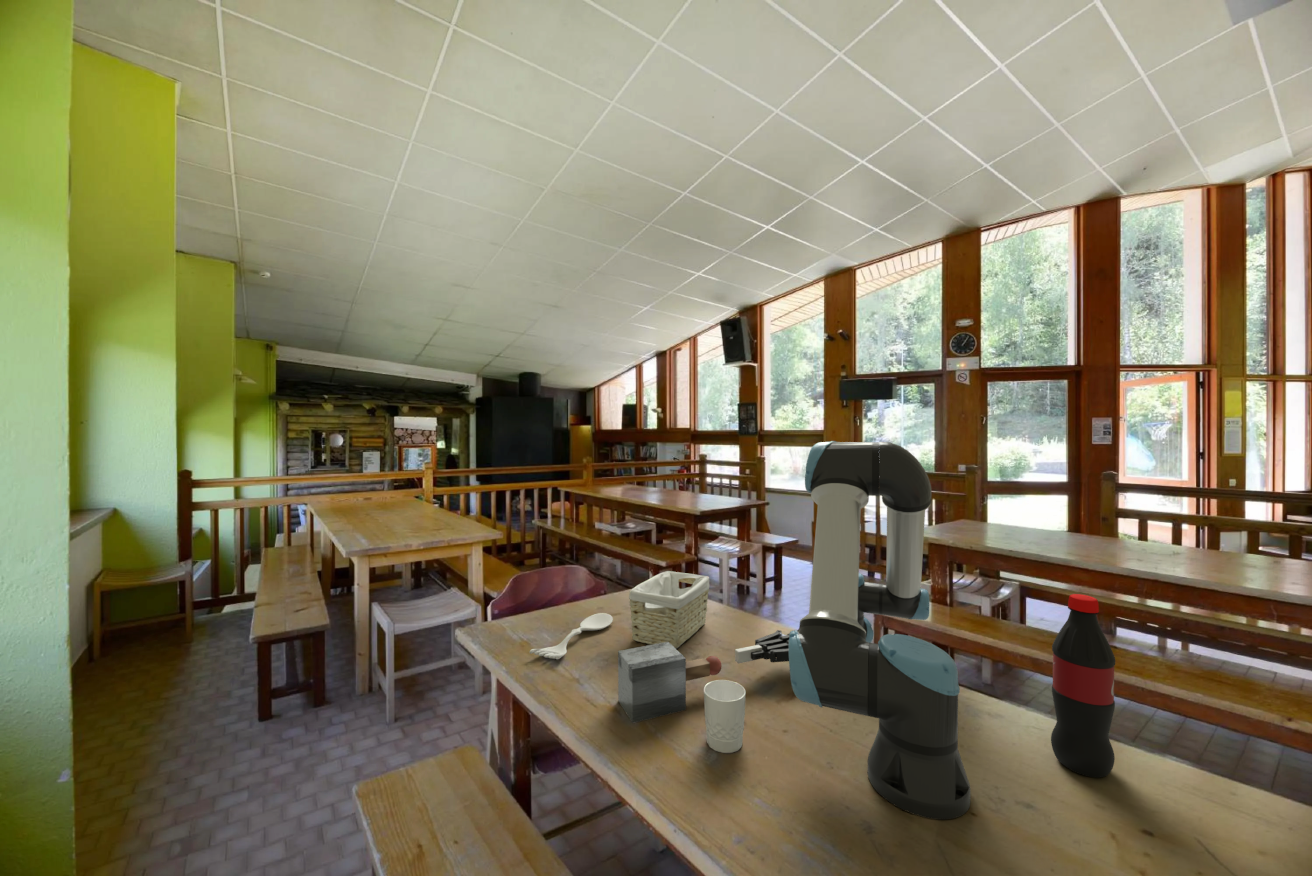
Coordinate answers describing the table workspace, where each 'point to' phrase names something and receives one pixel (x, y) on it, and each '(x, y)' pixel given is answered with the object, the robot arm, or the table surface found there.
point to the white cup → (724, 715)
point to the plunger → (702, 668)
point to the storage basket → (668, 608)
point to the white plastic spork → (589, 623)
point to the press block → (651, 681)
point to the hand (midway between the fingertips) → (736, 656)
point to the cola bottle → (1083, 691)
